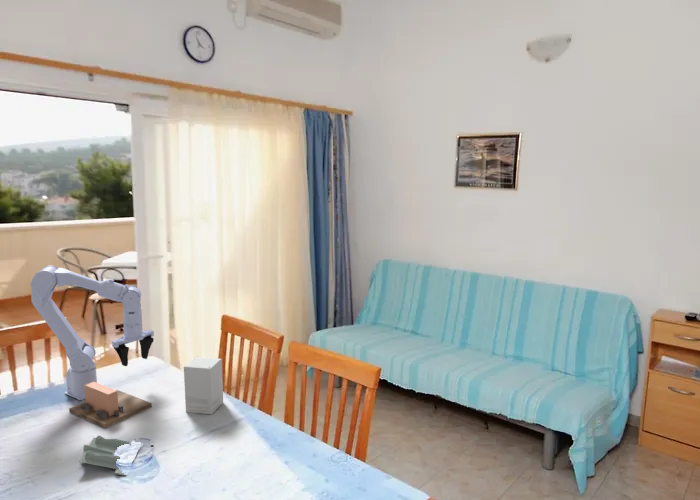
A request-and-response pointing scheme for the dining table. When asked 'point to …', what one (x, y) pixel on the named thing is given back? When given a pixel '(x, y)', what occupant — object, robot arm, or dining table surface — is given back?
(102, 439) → the grey-green ridged piece
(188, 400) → the supplement box
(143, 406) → the cabinet side board
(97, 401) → the door panel
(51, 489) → the dining table surface
